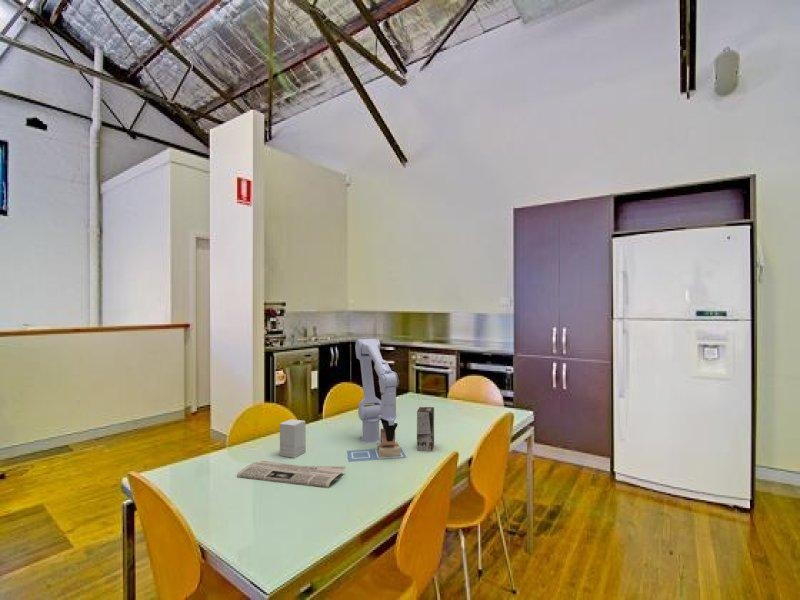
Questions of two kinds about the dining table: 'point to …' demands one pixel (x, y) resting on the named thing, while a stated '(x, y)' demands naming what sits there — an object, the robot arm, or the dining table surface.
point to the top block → (384, 440)
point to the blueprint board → (368, 455)
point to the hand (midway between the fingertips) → (388, 438)
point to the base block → (389, 450)
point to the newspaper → (291, 473)
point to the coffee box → (425, 429)
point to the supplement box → (292, 438)
